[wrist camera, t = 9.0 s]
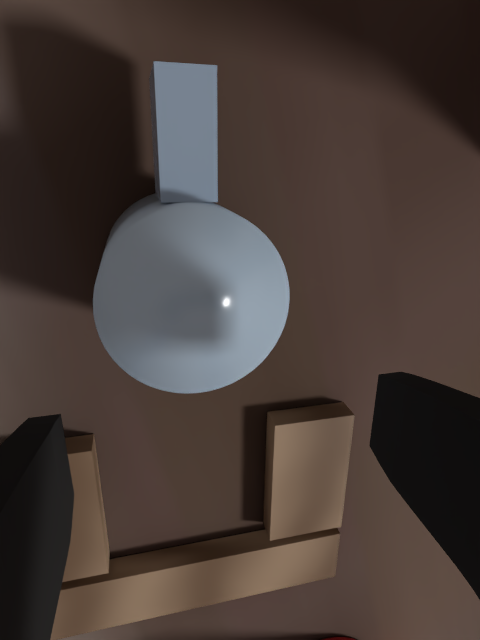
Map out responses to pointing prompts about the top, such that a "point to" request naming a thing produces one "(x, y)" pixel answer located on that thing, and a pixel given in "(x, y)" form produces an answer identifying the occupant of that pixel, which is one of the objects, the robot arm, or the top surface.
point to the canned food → (338, 638)
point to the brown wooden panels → (218, 554)
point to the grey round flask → (187, 258)
